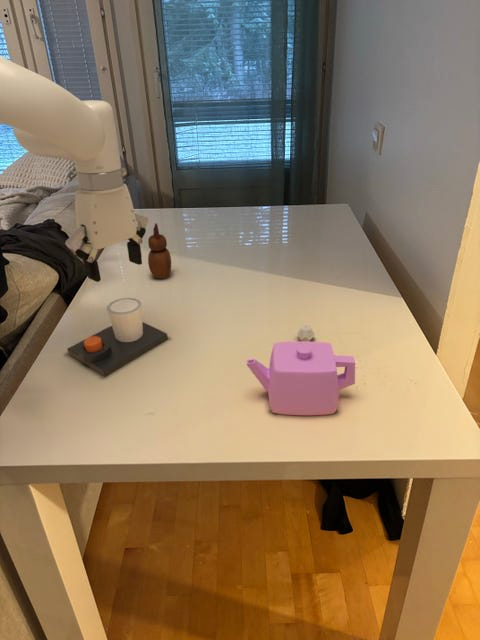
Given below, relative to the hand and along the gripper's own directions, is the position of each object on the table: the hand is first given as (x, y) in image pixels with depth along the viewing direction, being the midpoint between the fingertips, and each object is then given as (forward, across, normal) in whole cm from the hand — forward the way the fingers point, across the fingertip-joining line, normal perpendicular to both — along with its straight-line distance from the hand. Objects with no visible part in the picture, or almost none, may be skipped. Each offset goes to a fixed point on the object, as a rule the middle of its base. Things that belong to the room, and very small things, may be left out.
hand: (115, 270), depth 89 cm
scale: (+16, +2, 0) cm, 16 cm away
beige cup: (+15, -1, 0) cm, 15 cm away
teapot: (+16, -7, +38) cm, 42 cm away
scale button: (+14, +8, 0) cm, 16 cm away
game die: (+16, -23, +29) cm, 40 cm away
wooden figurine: (+16, -26, -18) cm, 35 cm away
